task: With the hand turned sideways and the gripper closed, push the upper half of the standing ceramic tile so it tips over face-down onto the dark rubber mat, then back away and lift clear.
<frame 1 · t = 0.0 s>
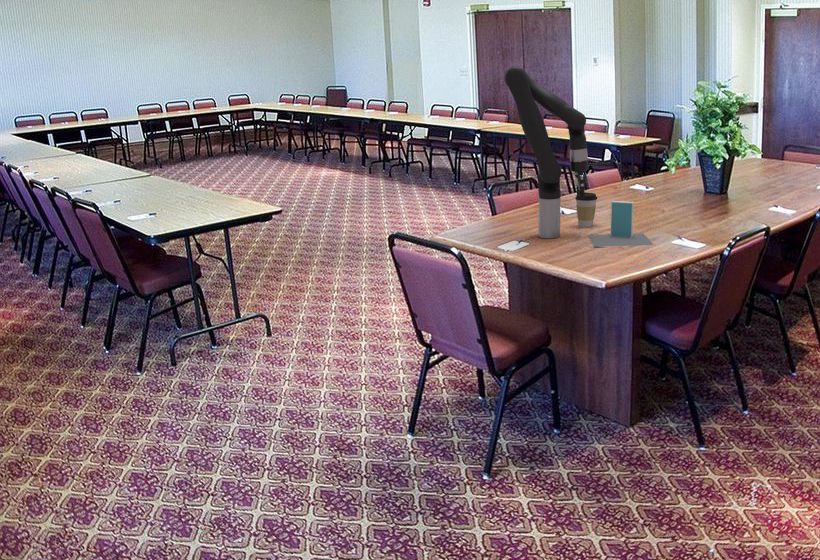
hand: (580, 196, 335), 17 cm above the table, tool pointing down, fingers open, 8 cm apart
coffee cup: (585, 227, 355), on the table
tile: (621, 236, 333), point 1 cm above the table, touching mat
mat: (619, 241, 327), on the table
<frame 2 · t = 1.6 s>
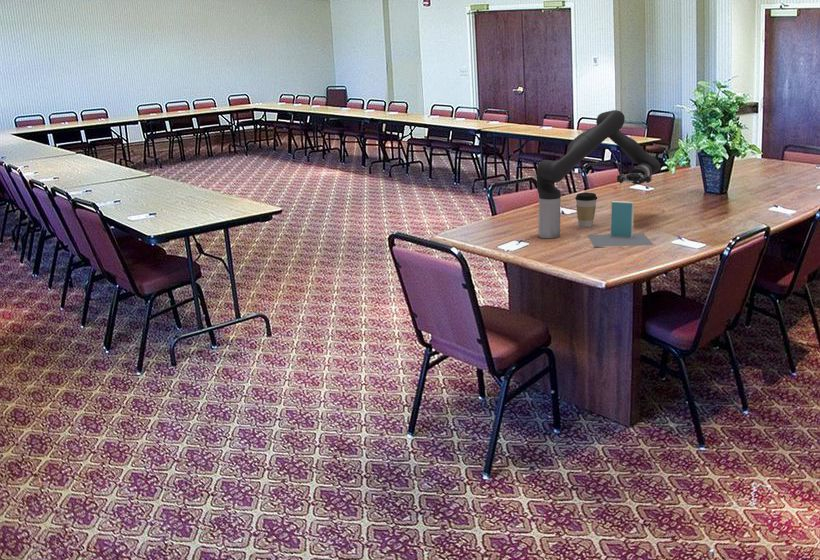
hand: (630, 181, 335), 23 cm above the table, tool horizontal, fingers open, 8 cm apart
nothing on the table moved.
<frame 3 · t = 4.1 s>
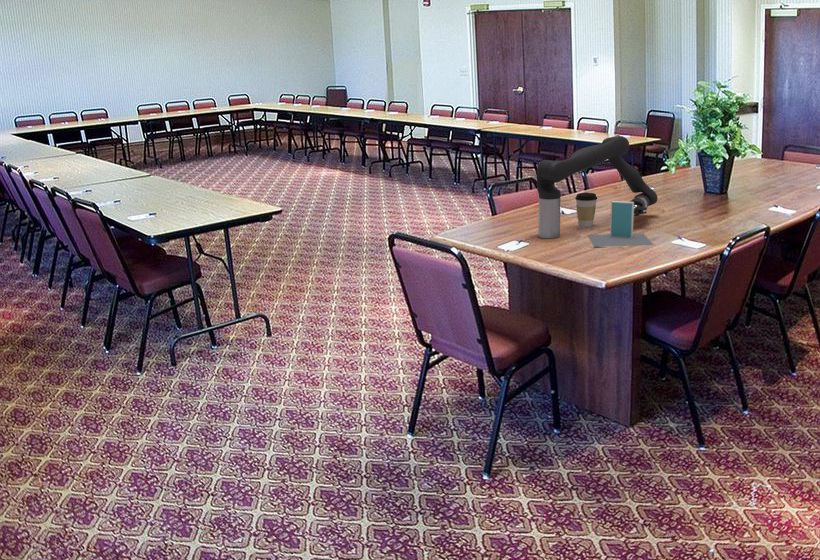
hand: (627, 213, 339), 8 cm above the table, tool horizontal, fingers closed
nothing on the table moved.
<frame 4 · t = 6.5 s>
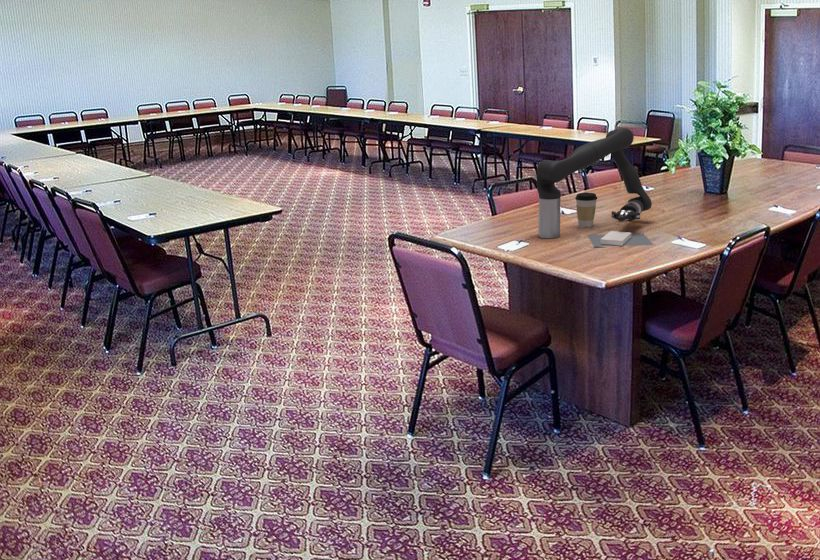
hand: (620, 219, 329), 9 cm above the table, tool horizontal, fingers closed
tile: (620, 234, 331), point 2 cm above the table, tilted 90°, touching mat
everything else where it was.
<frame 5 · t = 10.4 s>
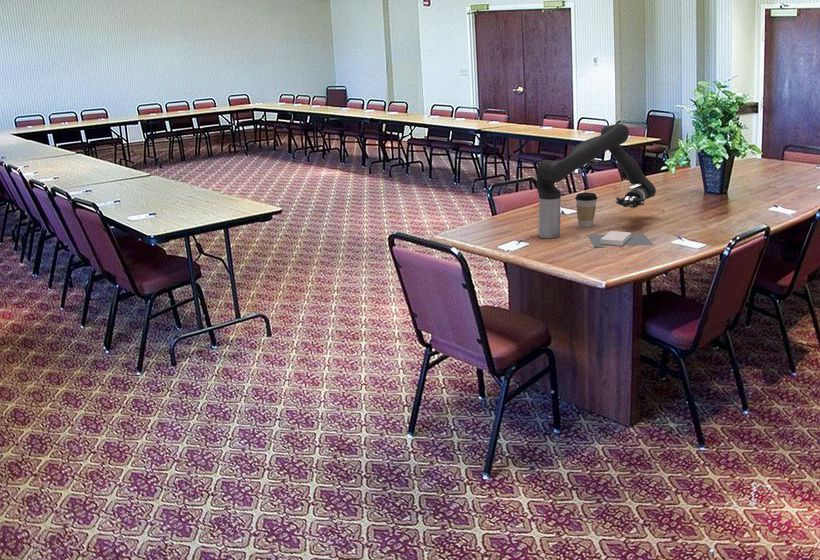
hand: (625, 204, 334), 13 cm above the table, tool horizontal, fingers closed
nothing on the table moved.
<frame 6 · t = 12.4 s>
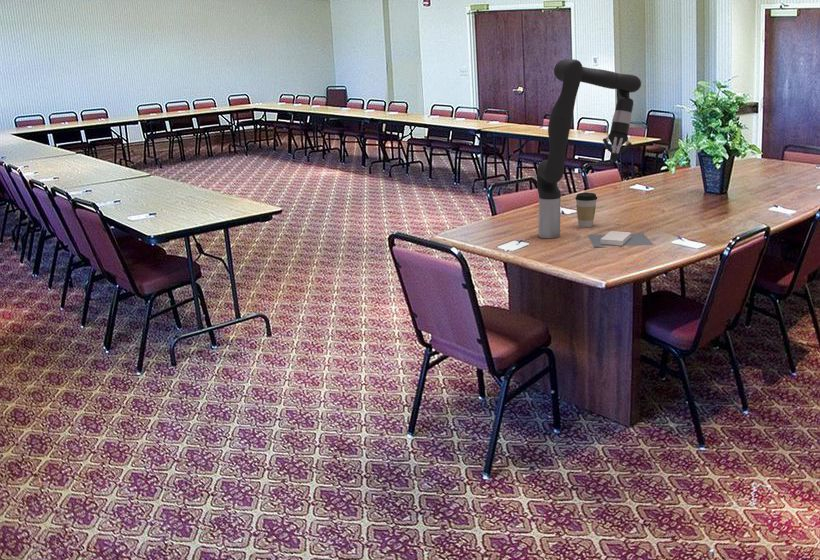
hand: (613, 162, 339), 30 cm above the table, tool tilted 15°, fingers closed
nothing on the table moved.
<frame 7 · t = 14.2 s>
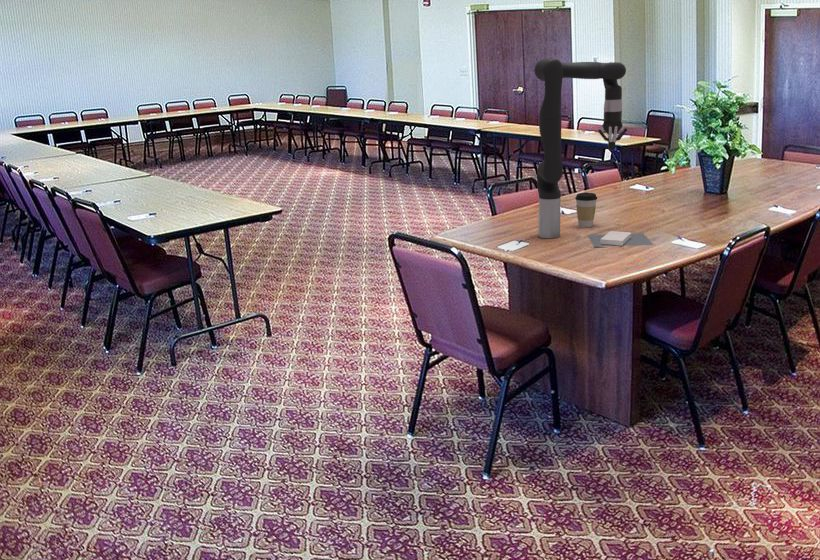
hand: (611, 150, 340), 35 cm above the table, tool pointing down, fingers closed
nothing on the table moved.
at the end: tile tilted 90°; tile inside the target area on the mat (4.4 cm from its centre), point 1.8 cm above the mat's base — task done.
